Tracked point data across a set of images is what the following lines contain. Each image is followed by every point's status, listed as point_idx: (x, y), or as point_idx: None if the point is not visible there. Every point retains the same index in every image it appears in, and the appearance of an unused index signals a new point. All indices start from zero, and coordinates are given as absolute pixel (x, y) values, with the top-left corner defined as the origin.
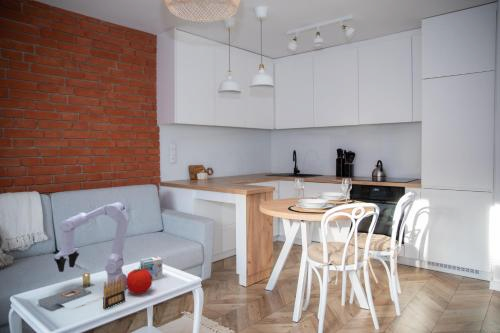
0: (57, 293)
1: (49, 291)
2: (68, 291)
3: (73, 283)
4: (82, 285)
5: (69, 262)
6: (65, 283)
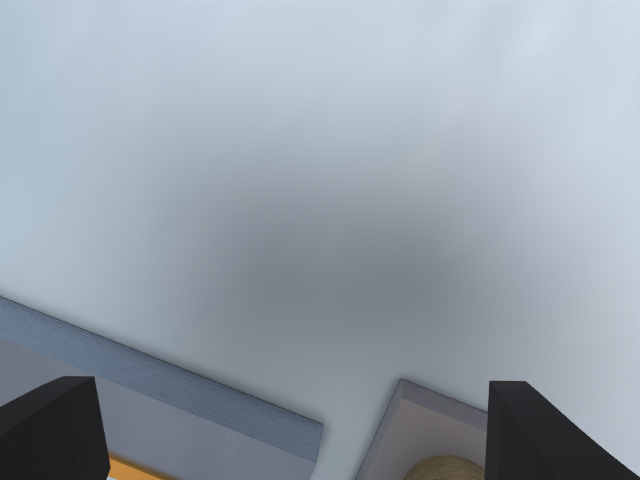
0: (47, 357)
1: (258, 21)
2: (143, 451)
3: (627, 147)
4: (447, 436)
5: (535, 460)
6: (618, 6)
